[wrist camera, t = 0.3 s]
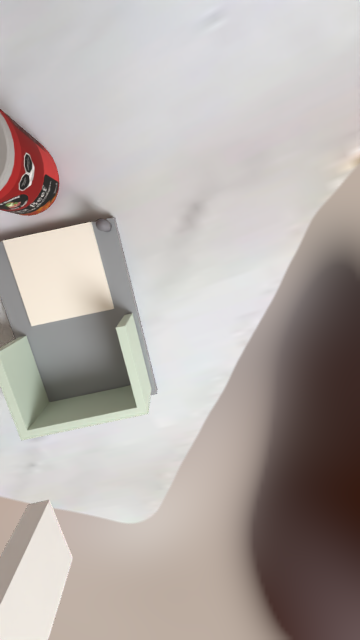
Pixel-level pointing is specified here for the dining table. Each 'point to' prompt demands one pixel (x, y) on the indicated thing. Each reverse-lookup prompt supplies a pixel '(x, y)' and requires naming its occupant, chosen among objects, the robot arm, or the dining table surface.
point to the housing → (77, 412)
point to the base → (71, 306)
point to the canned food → (25, 171)
